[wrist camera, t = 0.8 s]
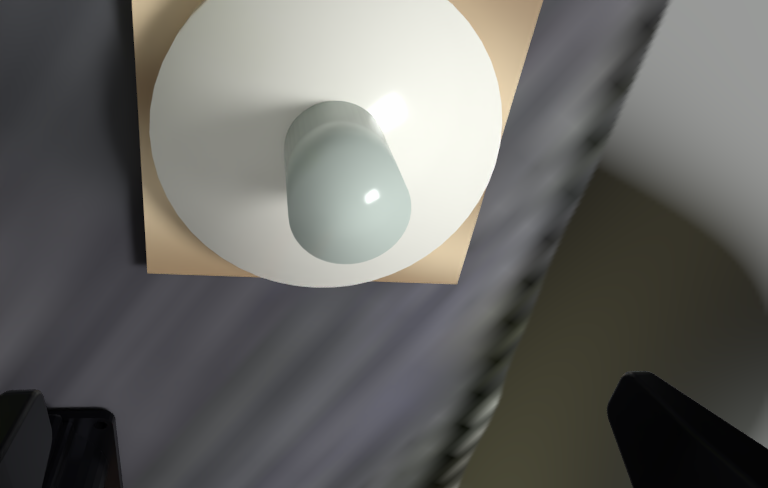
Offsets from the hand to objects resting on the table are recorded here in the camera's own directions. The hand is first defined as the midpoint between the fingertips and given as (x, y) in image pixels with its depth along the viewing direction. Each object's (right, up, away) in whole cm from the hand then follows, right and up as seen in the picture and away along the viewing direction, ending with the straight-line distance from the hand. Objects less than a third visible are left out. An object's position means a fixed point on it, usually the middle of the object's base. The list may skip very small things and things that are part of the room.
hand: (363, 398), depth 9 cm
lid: (-1, +6, +10) cm, 12 cm away
